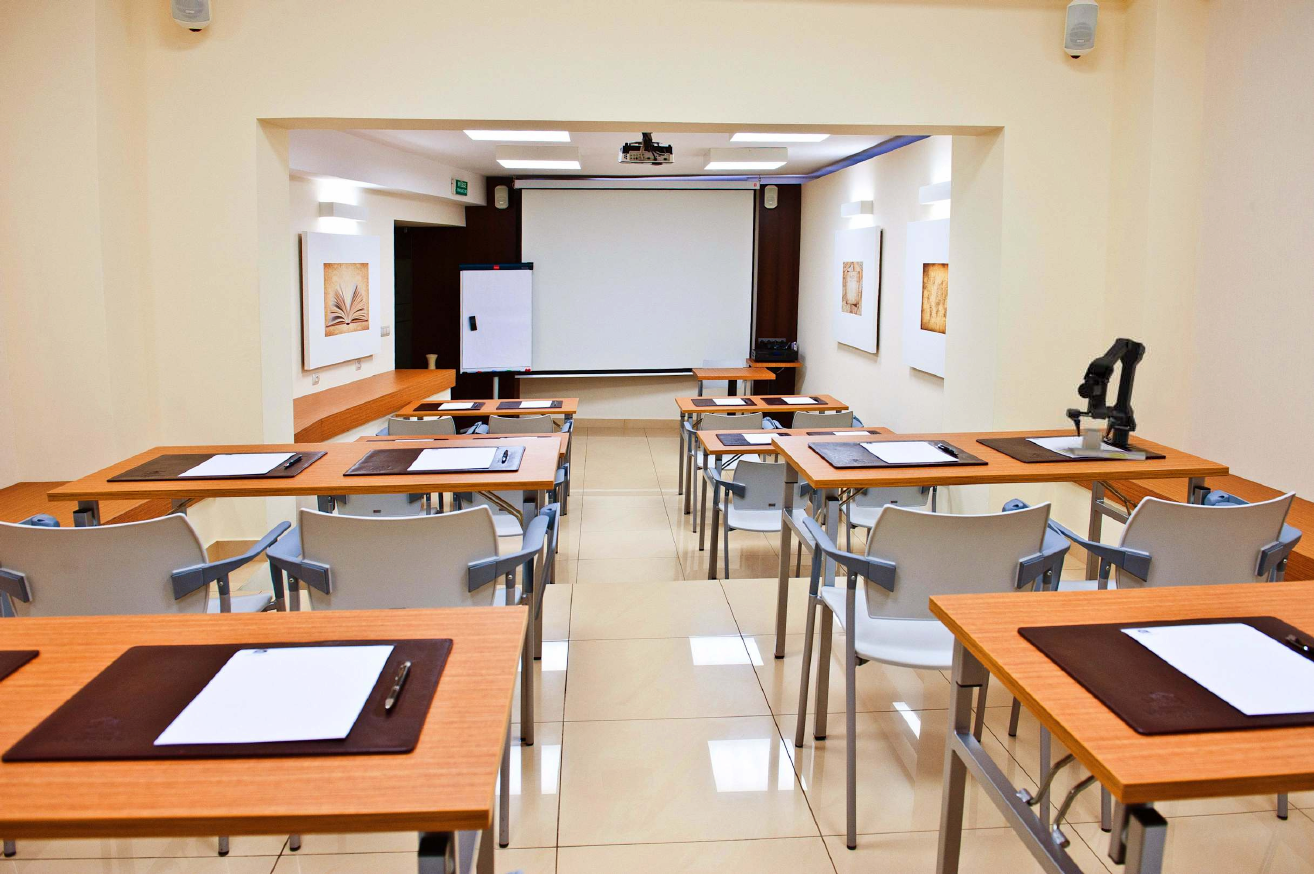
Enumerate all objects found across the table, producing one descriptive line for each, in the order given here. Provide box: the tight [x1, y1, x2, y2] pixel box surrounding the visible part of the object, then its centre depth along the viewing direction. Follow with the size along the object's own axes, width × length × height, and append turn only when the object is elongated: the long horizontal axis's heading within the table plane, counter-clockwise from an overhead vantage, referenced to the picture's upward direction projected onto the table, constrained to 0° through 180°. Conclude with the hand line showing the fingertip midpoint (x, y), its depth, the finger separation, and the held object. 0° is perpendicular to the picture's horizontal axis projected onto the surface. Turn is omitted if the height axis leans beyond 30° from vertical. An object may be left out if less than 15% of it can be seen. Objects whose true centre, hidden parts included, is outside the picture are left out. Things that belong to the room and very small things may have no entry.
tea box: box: [1081, 427, 1103, 449], centre depth 332 cm, size 5×7×8 cm
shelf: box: [1068, 447, 1146, 461], centre depth 329 cm, size 13×23×3 cm, turn 75°
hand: (1092, 438), depth 332 cm, fingers open, 9 cm apart
